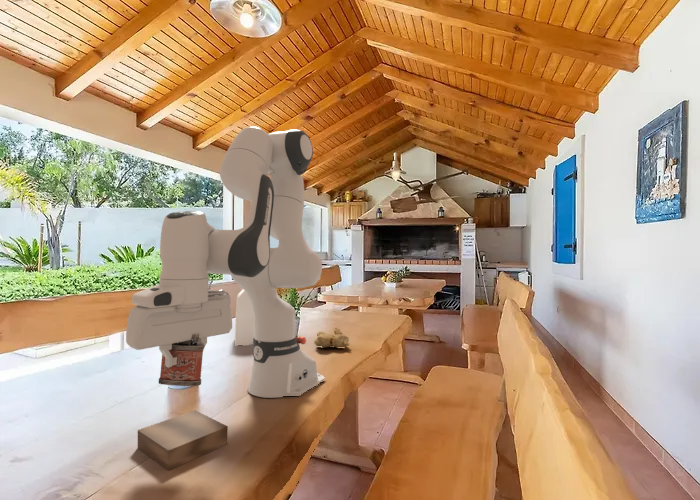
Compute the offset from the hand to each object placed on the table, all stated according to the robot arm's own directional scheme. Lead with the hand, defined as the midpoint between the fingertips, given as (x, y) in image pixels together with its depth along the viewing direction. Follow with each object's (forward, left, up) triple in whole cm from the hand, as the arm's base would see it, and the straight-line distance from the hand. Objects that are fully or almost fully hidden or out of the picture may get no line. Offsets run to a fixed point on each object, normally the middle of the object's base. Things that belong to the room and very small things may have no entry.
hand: (183, 363), depth 77 cm
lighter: (+1, 0, -4) cm, 4 cm away
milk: (-61, -59, -17) cm, 87 cm away
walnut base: (0, 0, -16) cm, 16 cm away
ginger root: (-76, -27, -17) cm, 83 cm away
